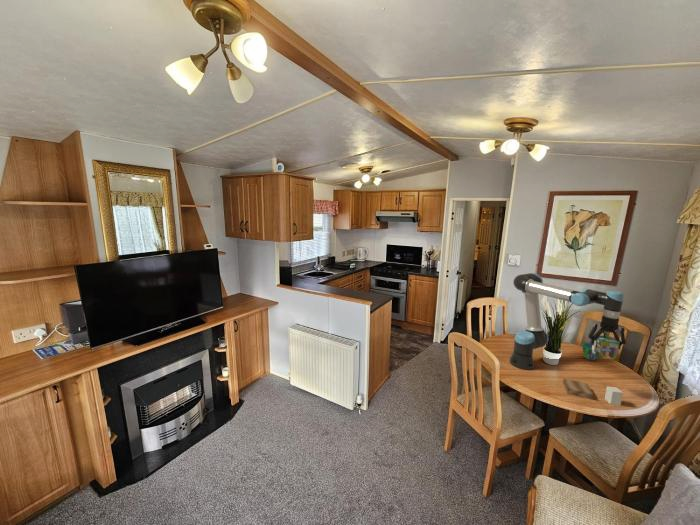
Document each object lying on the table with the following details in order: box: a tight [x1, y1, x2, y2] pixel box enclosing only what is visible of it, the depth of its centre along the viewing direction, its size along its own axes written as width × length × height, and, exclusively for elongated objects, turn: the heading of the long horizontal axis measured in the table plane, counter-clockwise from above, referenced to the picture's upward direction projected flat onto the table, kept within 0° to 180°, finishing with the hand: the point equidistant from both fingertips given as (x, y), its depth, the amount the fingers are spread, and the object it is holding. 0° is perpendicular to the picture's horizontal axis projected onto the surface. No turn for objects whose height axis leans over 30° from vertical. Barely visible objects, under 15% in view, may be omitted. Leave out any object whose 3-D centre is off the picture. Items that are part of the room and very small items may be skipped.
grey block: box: [604, 386, 624, 406], centre depth 166 cm, size 5×5×8 cm
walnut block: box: [562, 378, 594, 401], centre depth 176 cm, size 12×12×4 cm
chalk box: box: [591, 332, 620, 361], centre depth 173 cm, size 9×9×15 cm
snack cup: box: [581, 342, 598, 362], centre depth 217 cm, size 16×10×10 cm
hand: (604, 351), depth 174 cm, fingers closed on chalk box, 10 cm apart
